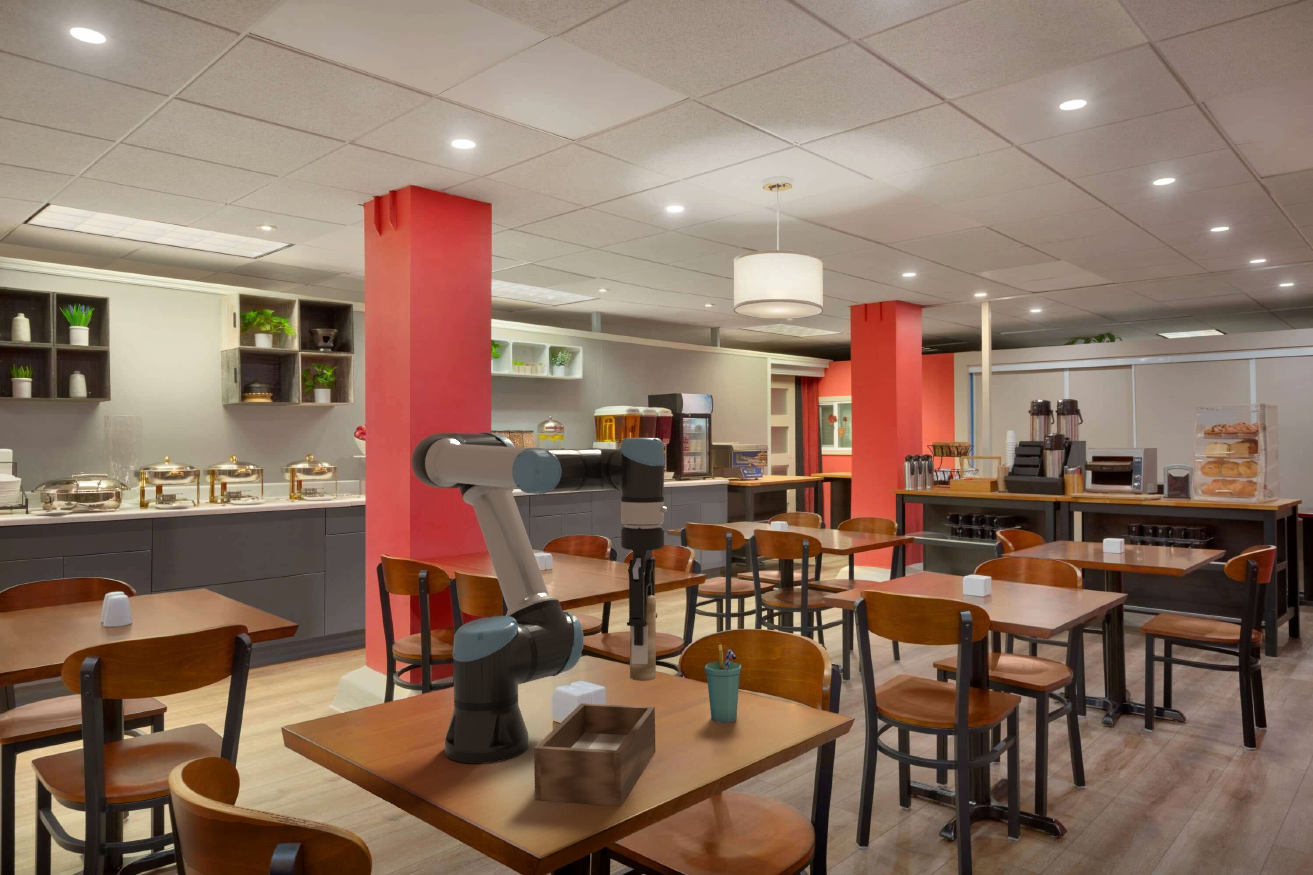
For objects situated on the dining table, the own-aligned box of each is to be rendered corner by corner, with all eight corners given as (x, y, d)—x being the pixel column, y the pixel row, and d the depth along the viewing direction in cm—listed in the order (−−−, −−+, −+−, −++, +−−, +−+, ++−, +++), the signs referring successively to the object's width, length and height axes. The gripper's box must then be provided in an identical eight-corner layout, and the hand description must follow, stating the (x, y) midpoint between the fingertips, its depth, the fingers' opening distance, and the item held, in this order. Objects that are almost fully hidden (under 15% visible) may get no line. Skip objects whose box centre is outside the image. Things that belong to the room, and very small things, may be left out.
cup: (754, 728, 161) (753, 651, 162) (716, 732, 160) (715, 654, 160) (733, 708, 175) (732, 636, 175) (697, 711, 173) (696, 639, 174)
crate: (534, 799, 129) (534, 747, 130) (581, 746, 153) (581, 703, 153) (621, 805, 126) (620, 753, 127) (655, 751, 150) (654, 706, 150)
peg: (627, 680, 142) (627, 598, 143) (632, 672, 147) (632, 594, 147) (653, 681, 142) (653, 599, 142) (657, 674, 146) (657, 594, 146)
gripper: (655, 531, 135) (655, 674, 135) (671, 521, 153) (671, 648, 152) (610, 530, 137) (610, 672, 136) (631, 520, 154) (631, 646, 154)
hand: (642, 659), depth 144 cm, fingers closed on peg, 4 cm apart
